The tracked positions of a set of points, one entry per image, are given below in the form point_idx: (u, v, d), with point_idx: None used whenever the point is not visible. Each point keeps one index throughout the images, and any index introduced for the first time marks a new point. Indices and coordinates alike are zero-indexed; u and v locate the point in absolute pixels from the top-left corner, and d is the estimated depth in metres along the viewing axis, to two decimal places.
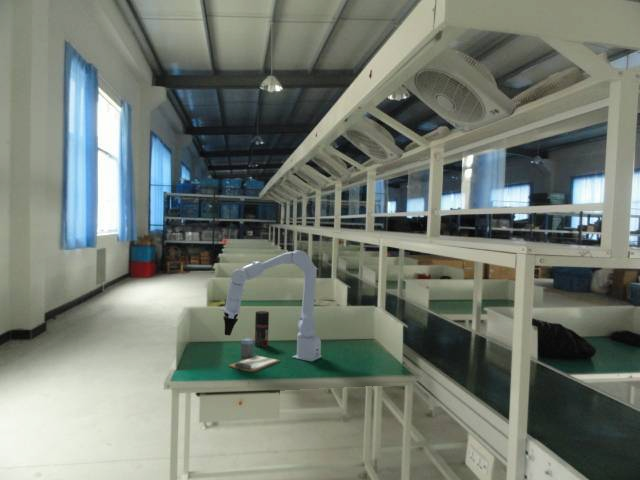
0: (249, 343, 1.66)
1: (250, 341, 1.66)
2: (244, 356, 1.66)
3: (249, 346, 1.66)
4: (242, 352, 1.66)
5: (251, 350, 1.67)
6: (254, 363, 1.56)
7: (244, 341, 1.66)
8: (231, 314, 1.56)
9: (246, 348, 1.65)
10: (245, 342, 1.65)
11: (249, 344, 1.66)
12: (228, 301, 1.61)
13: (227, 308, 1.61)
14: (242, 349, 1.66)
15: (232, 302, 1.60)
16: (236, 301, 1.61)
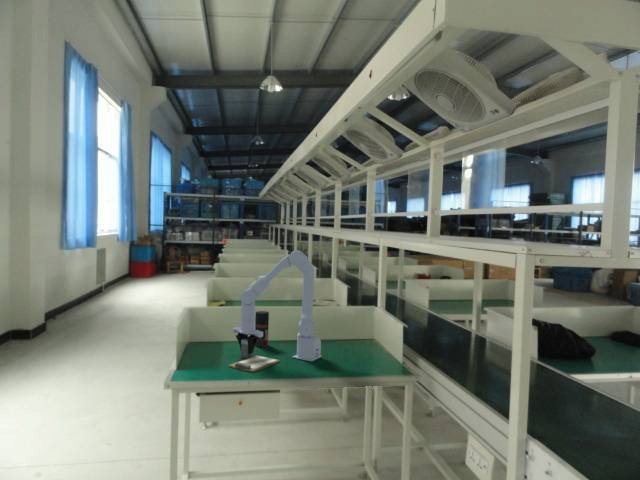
0: None
1: None
2: (244, 356, 1.66)
3: None
4: (242, 352, 1.66)
5: None
6: (254, 363, 1.56)
7: (244, 341, 1.66)
8: (261, 333, 1.63)
9: (246, 348, 1.65)
10: (245, 342, 1.65)
11: None
12: (248, 322, 1.64)
13: (248, 329, 1.64)
14: (242, 349, 1.66)
15: (252, 322, 1.65)
16: (254, 320, 1.67)
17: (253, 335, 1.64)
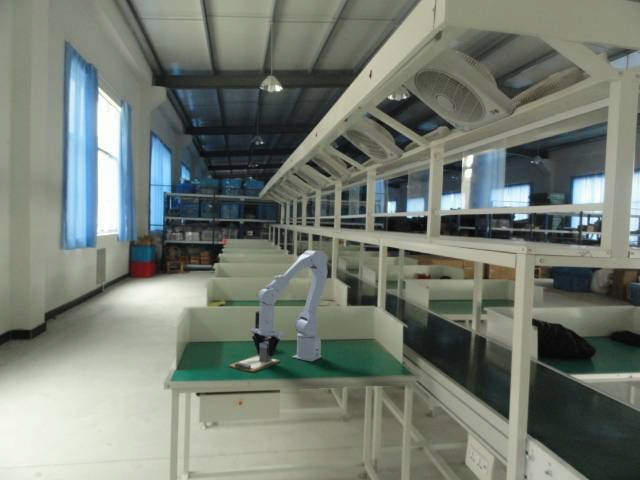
0: (268, 347, 1.58)
1: None
2: (263, 360, 1.58)
3: (268, 349, 1.58)
4: (260, 356, 1.59)
5: None
6: (254, 363, 1.56)
7: (263, 344, 1.58)
8: (281, 334, 1.56)
9: (265, 352, 1.58)
10: (264, 345, 1.58)
11: (268, 348, 1.58)
12: (267, 323, 1.57)
13: (267, 330, 1.57)
14: (261, 353, 1.59)
15: (271, 323, 1.58)
16: (273, 321, 1.59)
17: (272, 336, 1.57)
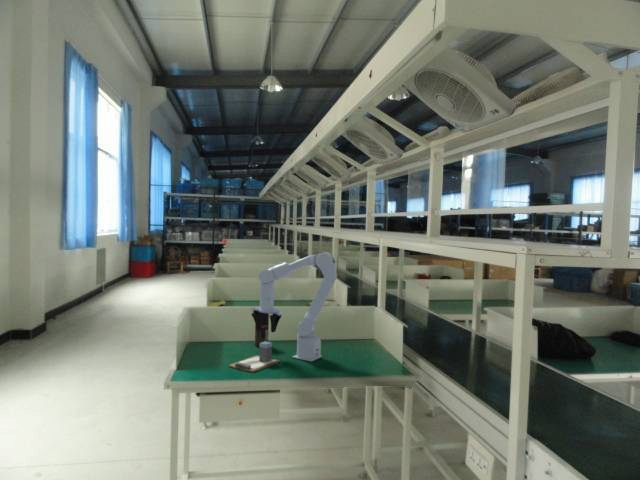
0: (268, 347, 1.58)
1: (269, 344, 1.59)
2: (263, 360, 1.58)
3: (268, 349, 1.58)
4: (260, 356, 1.59)
5: (270, 354, 1.60)
6: (254, 363, 1.56)
7: (263, 344, 1.58)
8: (280, 311, 1.67)
9: (265, 352, 1.58)
10: (264, 345, 1.58)
11: (268, 348, 1.58)
12: (267, 301, 1.68)
13: (267, 308, 1.68)
14: (261, 353, 1.59)
15: (271, 301, 1.69)
16: (273, 299, 1.71)
17: (272, 313, 1.68)
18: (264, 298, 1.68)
